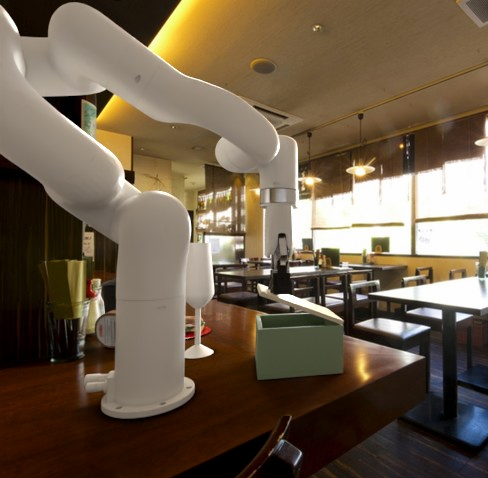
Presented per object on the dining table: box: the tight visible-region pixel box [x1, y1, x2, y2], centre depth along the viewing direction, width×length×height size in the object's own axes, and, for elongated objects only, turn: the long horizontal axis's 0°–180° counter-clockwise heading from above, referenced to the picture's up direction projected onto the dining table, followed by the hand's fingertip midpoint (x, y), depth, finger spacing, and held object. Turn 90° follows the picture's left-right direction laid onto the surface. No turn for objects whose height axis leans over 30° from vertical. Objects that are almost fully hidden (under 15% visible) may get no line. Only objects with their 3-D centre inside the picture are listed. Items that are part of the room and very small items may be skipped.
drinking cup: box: [100, 277, 116, 314], centre depth 85 cm, size 8×8×20 cm
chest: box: [254, 312, 344, 381], centre depth 65 cm, size 16×13×9 cm
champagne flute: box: [185, 242, 215, 359], centre depth 72 cm, size 7×7×24 cm
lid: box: [256, 270, 345, 326], centre depth 66 cm, size 16×13×5 cm
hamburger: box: [185, 315, 212, 339], centre depth 88 cm, size 14×14×6 cm
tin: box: [94, 310, 116, 349], centre depth 75 cm, size 15×3×8 cm, turn 84°
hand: (279, 290), depth 65 cm, fingers closed on lid, 6 cm apart
